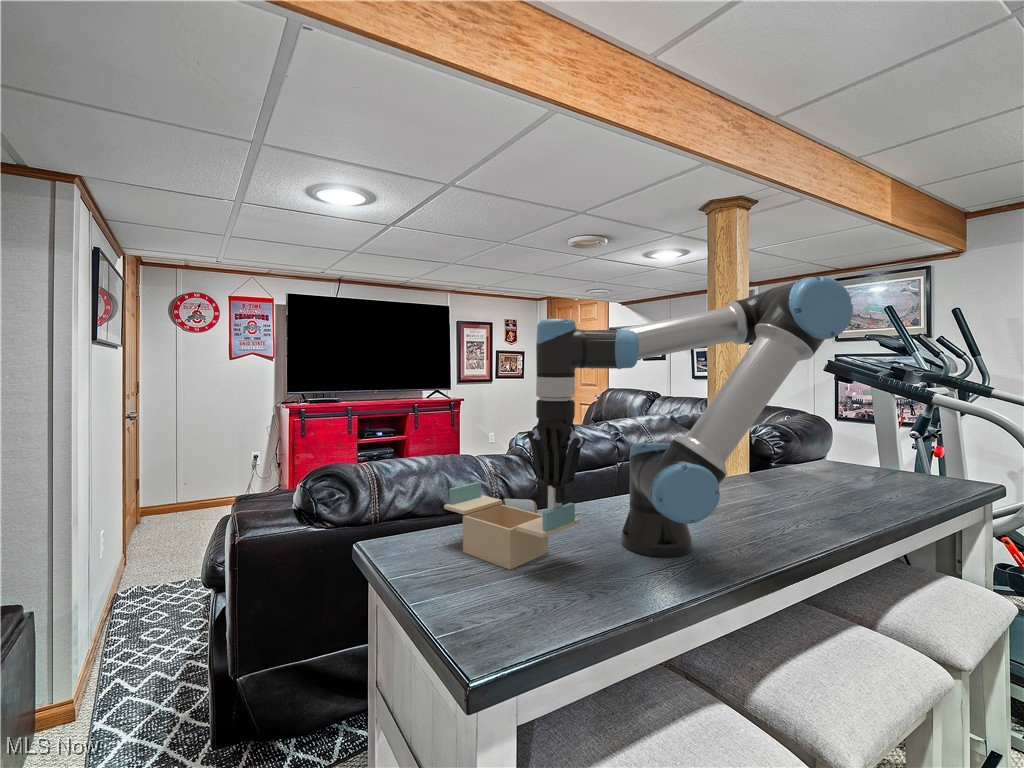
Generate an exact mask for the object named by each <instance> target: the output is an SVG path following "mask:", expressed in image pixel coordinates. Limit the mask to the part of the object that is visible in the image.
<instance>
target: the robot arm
mask: <svg viewBox="0 0 1024 768" xmlns="http://www.w3.org/2000/svg"><path fill="white" fill-rule="evenodd" d="M851 298H852V297H851V295H850V293H849V291H848V290H847V288H846V287H844V285H842V283H841V282H839V281H838V280H836V279H835V278H832V277H827V276H823V275H821V276H809V277H808V276H807V277H804V278H801V279H799V280H798V281H794V282H791V283H786V284H783V285H779V286H776V287H772V288H770V289H768V290H765V291H762V292H759V293H757V294H754V295H752V296H749V297H745V298H742V299H738V300H732V301H730V302H728V304H727V306H726V307H722V308H721V307H720V308H716V309H712V310H708V311H707V310H706V311H701V312H697V313H691V314H687V315H681V316H676V317H671V318H667V319H661V320H657V321H651V322H647V323H642V324H637V325H632V326H627V327H622V328H617V329H616V328H615V329H591V330H590V329H586V330H585V329H577V325H576V321H575V320H573V319H571V318H545V319H542V320H540V321H539V322H538V323H537V328H536V343H535V344H536V345H535V346H536V347H535V349H536V376H535V377H536V380H535V383H536V385H535V387H536V388H535V396H536V397H538V398H539V399H537V401H535V402H536V403H535V405H536V406H535V407H536V408H535V411H536V413H535V416H536V417H535V418H536V419H538V420H537V424H536V428H534V429H533V430H532V431H528V432H527V434H526V436H527V438H528V441H529V443H530V446H531V450H532V452H531V453H532V457H533V464H534V469H535V476H536V479H537V480H538V481H542V482H543V484H544V487H545V488H544V489H545V497H544V498H545V500H546V501H547V511H548V510H551V509H554V508H557V507H560V506H562V505H563V502H565V500H566V499H565V498H566V497H565V486H567V485H571V484H574V481H575V477H576V474H577V473H576V472H577V467H578V464H579V458H580V454H581V449H582V447H583V446H584V445H585V443H586V441H587V440H586V437H585V436H580V435H579V434H578V433H577V432H576V428H575V424H574V420H575V416H576V415H575V414H576V412H575V411H576V410H575V409H576V402H575V399H574V400H573V398H574V397H575V396H576V389H575V388H576V369H617V370H622V369H632V368H634V367H635V366H636V365H637V363H638V360H644V359H648V358H654V357H659V356H664V355H669V354H674V353H679V352H684V351H689V350H695V349H700V348H704V347H706V348H707V347H710V346H715V345H720V344H726V343H731V342H732V343H734V344H736V345H737V346H738V345H745V344H750V343H752V344H751V345H750V346H749V348H748V349H747V351H746V352H745V354H744V355H743V356H742V358H741V360H740V361H739V362H738V364H737V365H736V366H735V367H734V369H733V370H732V372H731V373H730V374H729V376H728V377H727V379H726V380H725V381H724V383H723V384H722V385H721V387H720V388H719V390H718V391H717V393H716V394H715V395H714V397H713V398H712V400H711V401H710V402H709V404H708V405H707V406H706V408H705V409H704V410H703V412H702V414H701V415H700V416H699V418H698V419H696V420H697V421H696V422H695V423H694V425H693V426H692V427H691V429H690V430H689V431H688V433H687V434H686V435H684V436H682V437H681V436H680V437H676V438H675V437H674V438H673V440H672V441H671V443H669V442H667V443H666V442H648V443H647V442H645V443H644V442H643V443H642V442H641V443H633V444H632V445H631V446H630V450H629V456H628V460H629V510H628V513H627V517H626V519H625V522H624V525H623V528H622V531H621V545H622V546H623V547H625V548H626V549H627V550H629V551H631V552H634V553H637V554H641V555H644V556H650V557H658V558H673V557H675V558H676V557H680V556H684V555H686V554H689V553H690V552H692V549H693V547H692V546H693V540H692V539H693V538H692V535H691V532H690V529H689V525H688V524H695V523H698V522H699V523H700V522H702V521H704V520H705V519H707V518H709V516H710V515H712V514H713V512H715V510H716V508H717V507H718V505H719V502H720V498H721V493H720V485H721V483H722V482H723V481H724V479H725V477H726V476H727V475H728V471H727V470H728V469H727V467H726V463H727V460H728V458H729V457H730V456H731V454H733V452H734V451H735V449H736V448H737V447H738V445H739V444H740V442H741V440H742V439H743V438H744V436H745V435H746V434H747V432H748V431H749V430H750V428H751V427H752V425H753V424H754V423H755V422H756V420H757V418H758V417H759V416H760V415H761V413H762V412H763V411H764V409H765V408H766V406H767V404H768V403H770V401H771V399H772V398H773V397H774V395H775V394H776V392H777V391H778V390H779V388H780V387H781V386H782V385H783V383H784V381H785V380H786V379H787V378H788V376H789V375H790V373H791V372H792V370H793V369H794V367H795V366H796V365H797V363H798V362H801V361H806V360H810V359H812V357H813V356H814V355H815V354H816V352H817V351H818V350H819V348H820V347H821V346H822V344H823V343H824V341H825V340H830V339H833V338H835V337H838V336H839V335H840V334H842V333H843V332H844V331H845V330H847V328H848V327H849V325H850V323H851V321H852V318H853V314H854V306H853V304H852V299H851Z"/></svg>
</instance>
